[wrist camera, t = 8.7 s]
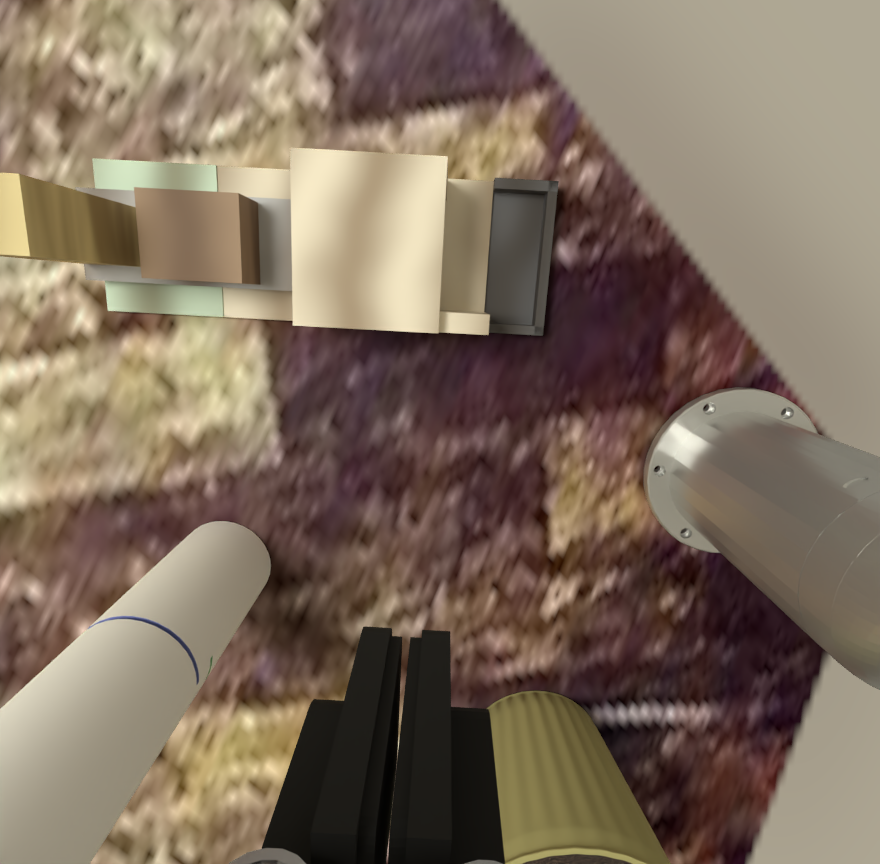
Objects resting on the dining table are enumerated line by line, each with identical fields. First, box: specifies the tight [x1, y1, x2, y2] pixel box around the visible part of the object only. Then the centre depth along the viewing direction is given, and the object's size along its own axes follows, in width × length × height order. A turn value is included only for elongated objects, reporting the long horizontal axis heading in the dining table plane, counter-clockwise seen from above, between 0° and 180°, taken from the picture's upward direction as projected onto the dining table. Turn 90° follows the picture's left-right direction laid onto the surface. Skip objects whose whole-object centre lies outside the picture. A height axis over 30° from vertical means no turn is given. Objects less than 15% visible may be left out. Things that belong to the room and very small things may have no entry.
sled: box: [0, 173, 292, 291], centre depth 30 cm, size 16×6×11 cm, turn 87°
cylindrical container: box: [0, 521, 271, 864], centre depth 30 cm, size 7×7×25 cm
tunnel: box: [92, 148, 559, 336], centre depth 33 cm, size 30×10×6 cm, turn 87°
